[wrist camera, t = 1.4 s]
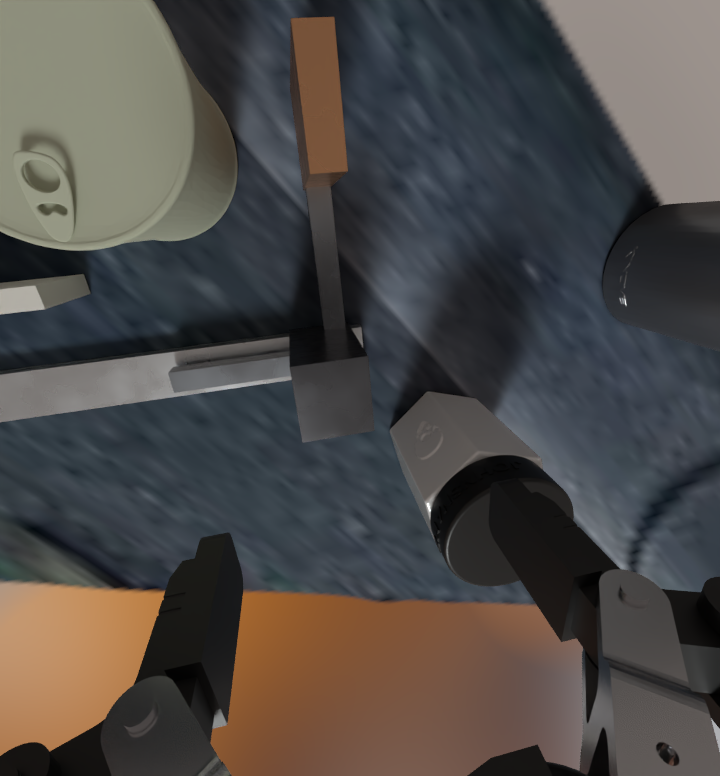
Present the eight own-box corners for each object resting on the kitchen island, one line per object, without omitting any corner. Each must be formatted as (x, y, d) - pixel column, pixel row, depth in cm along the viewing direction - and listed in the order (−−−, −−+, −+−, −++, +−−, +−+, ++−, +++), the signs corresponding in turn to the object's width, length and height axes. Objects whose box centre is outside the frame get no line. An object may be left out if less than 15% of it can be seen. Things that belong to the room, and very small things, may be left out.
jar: (444, 368, 31) (529, 447, 20) (503, 423, 34) (605, 517, 23) (369, 445, 32) (409, 557, 21) (431, 491, 35) (495, 609, 24)
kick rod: (322, 87, 21) (339, 16, 14) (352, 378, 29) (374, 430, 21) (94, 99, 20) (-18, 28, 13) (186, 403, 27) (148, 467, 20)
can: (80, 233, 23) (-108, 239, 12) (47, 39, 20) (-257, -196, 9) (239, 247, 25) (201, 264, 14) (235, 72, 21) (180, -89, 10)
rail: (359, 323, 28) (361, 327, 27) (362, 364, 29) (365, 369, 28) (-33, 374, 25) (-45, 380, 24) (-9, 418, 26) (-20, 424, 25)
